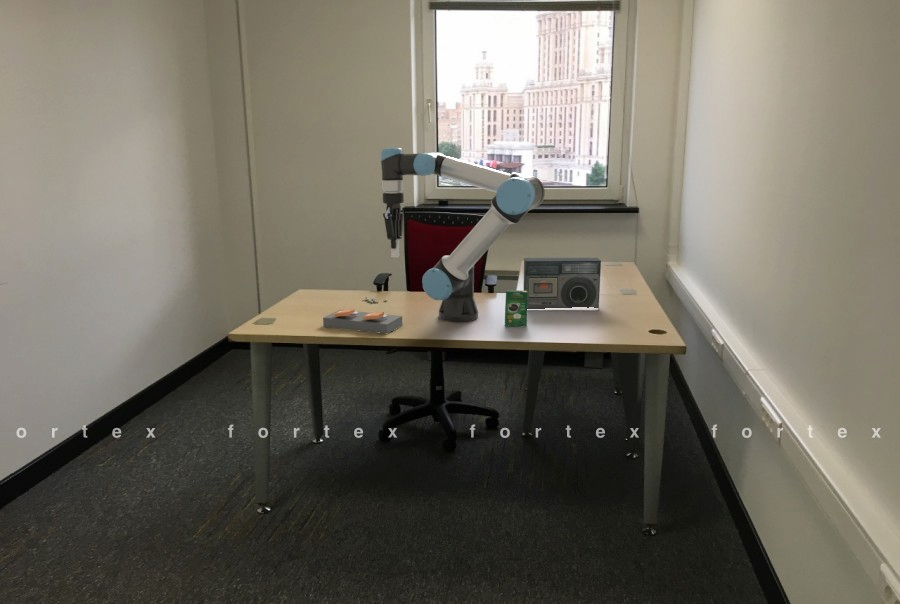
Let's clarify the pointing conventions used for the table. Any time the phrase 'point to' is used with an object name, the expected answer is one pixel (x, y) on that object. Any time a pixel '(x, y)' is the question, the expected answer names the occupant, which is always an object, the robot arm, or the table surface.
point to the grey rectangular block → (363, 322)
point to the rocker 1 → (344, 312)
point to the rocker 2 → (373, 315)
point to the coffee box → (516, 308)
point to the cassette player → (562, 282)
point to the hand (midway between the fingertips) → (395, 256)
